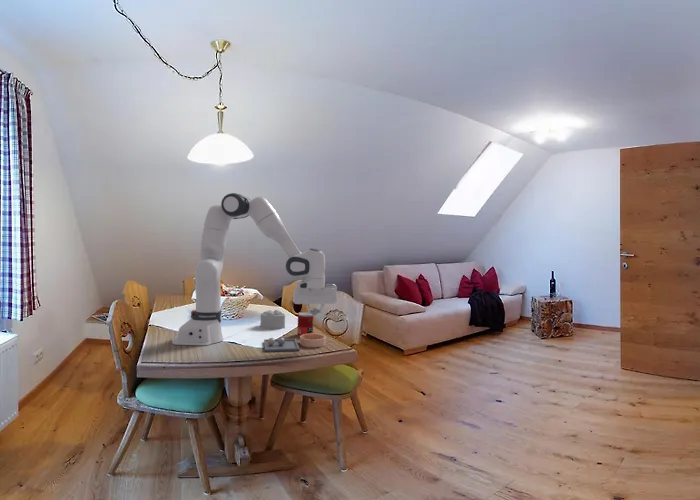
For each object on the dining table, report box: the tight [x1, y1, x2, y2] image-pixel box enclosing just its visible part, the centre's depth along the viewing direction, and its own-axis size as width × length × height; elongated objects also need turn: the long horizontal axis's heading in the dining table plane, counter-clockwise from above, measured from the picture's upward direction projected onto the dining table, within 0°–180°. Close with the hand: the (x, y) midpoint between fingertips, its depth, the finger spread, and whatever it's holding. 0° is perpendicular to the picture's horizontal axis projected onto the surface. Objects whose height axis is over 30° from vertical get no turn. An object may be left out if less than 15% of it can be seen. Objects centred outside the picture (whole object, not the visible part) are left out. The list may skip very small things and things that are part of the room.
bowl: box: [299, 332, 327, 349], centre depth 196 cm, size 12×12×4 cm
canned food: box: [297, 311, 315, 337], centre depth 212 cm, size 8×8×11 cm
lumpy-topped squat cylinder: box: [259, 309, 286, 330], centre depth 227 cm, size 10×13×9 cm
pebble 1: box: [268, 337, 275, 345], centre depth 189 cm, size 3×3×3 cm
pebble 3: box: [311, 307, 319, 316], centre depth 194 cm, size 3×3×3 cm
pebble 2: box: [277, 337, 286, 345], centre depth 190 cm, size 3×3×3 cm
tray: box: [263, 338, 300, 353], centre depth 190 cm, size 15×16×1 cm
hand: (314, 313), depth 194 cm, fingers closed on pebble 3, 3 cm apart
